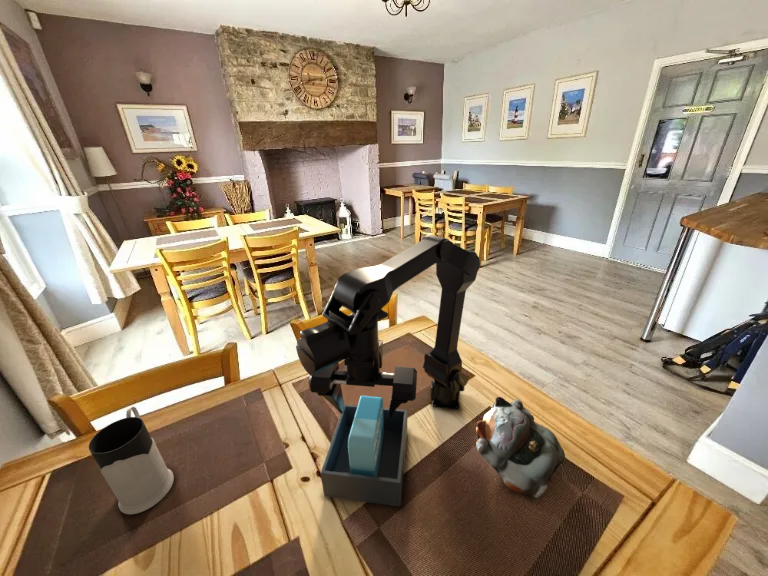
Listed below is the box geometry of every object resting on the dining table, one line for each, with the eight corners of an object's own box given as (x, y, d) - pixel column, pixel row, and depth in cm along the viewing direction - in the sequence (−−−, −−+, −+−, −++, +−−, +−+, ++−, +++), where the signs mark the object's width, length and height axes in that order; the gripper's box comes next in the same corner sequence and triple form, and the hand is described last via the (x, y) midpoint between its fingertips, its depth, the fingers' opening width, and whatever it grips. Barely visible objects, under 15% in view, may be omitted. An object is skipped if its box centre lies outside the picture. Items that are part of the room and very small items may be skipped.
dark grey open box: (407, 431, 70) (407, 409, 67) (400, 506, 56) (400, 483, 53) (346, 425, 72) (343, 404, 69) (324, 496, 57) (320, 473, 55)
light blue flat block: (375, 489, 58) (372, 444, 53) (351, 486, 58) (346, 441, 53) (384, 435, 69) (382, 393, 64) (364, 433, 69) (361, 391, 64)
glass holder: (113, 524, 54) (75, 466, 48) (129, 458, 66) (100, 405, 59) (171, 499, 58) (143, 443, 51) (177, 441, 69) (155, 389, 63)
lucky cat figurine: (528, 514, 54) (495, 452, 51) (481, 476, 65) (453, 424, 62) (578, 455, 59) (551, 396, 56) (527, 430, 70) (502, 379, 68)
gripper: (419, 324, 58) (417, 388, 65) (323, 319, 61) (331, 381, 67) (416, 361, 48) (414, 432, 55) (302, 353, 51) (313, 422, 57)
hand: (366, 414), depth 59 cm, fingers open, 9 cm apart
